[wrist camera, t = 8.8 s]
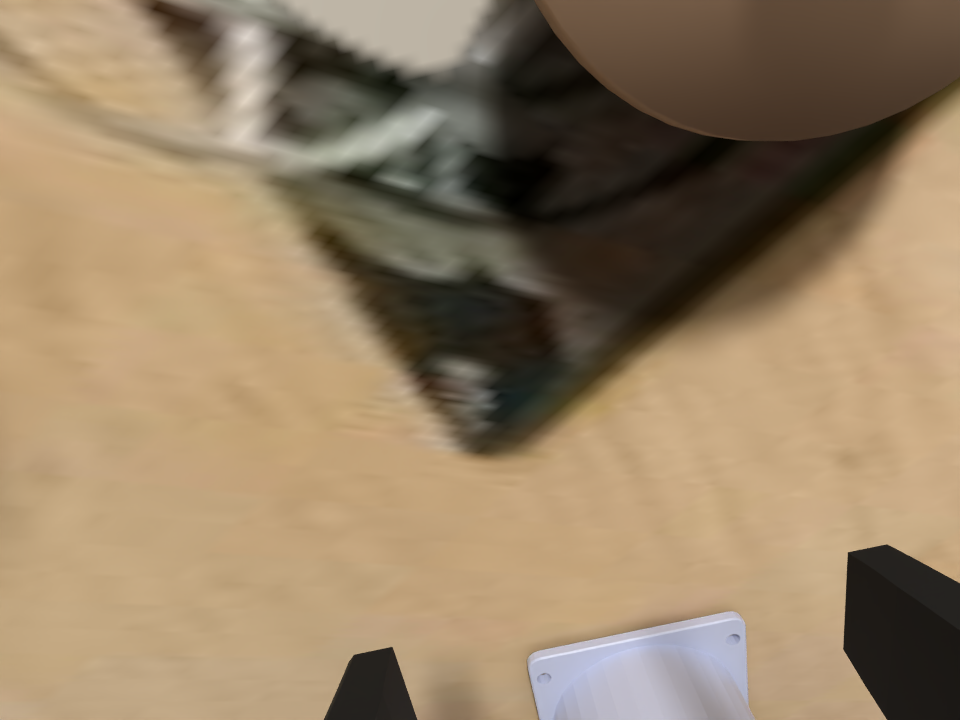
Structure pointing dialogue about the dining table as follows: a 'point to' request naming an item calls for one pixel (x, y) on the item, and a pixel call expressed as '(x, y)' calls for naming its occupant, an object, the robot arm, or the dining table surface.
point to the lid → (764, 60)
